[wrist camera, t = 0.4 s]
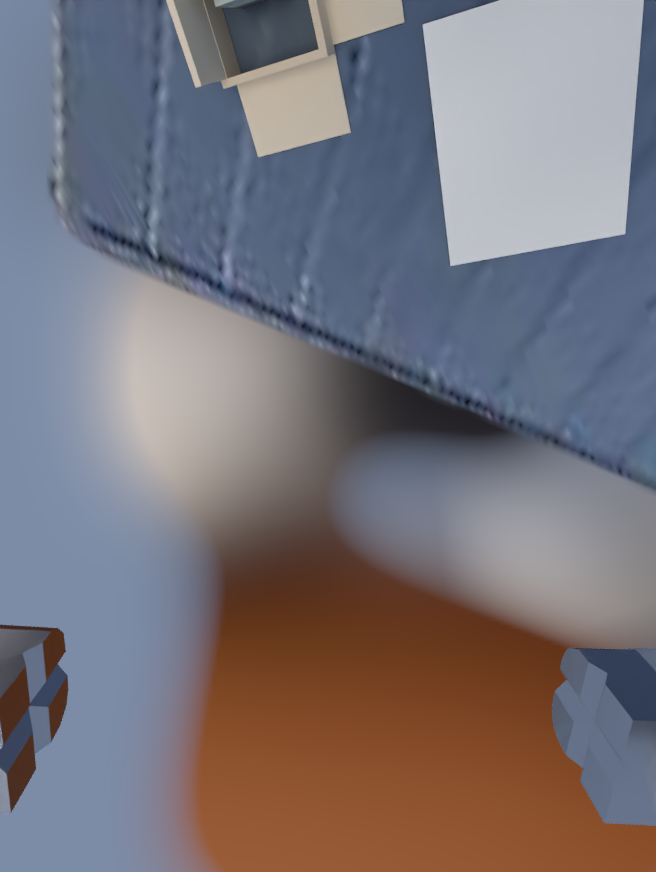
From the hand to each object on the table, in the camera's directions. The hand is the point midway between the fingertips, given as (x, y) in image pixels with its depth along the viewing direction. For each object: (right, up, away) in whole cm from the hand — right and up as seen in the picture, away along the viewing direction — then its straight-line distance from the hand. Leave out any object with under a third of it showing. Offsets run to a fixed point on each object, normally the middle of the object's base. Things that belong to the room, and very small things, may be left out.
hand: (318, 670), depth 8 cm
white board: (+18, +30, +37) cm, 51 cm away
